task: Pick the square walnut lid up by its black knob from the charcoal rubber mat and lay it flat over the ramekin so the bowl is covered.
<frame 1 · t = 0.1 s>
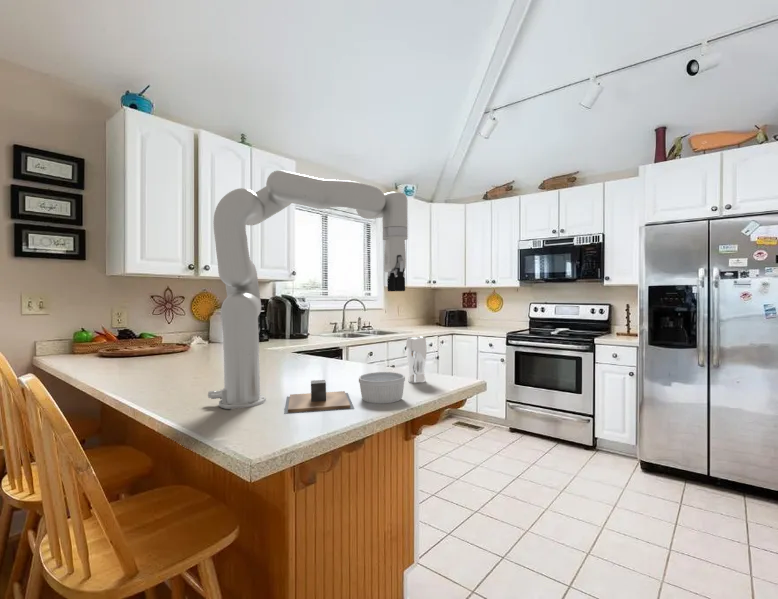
hand: (396, 291, 127), 31 cm above the table, fingers open, 9 cm apart
ramekin: (382, 400, 121), on the table
mat: (318, 404, 117), on the table
lid: (318, 402, 117), resting on mat
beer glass: (416, 382, 145), on the table
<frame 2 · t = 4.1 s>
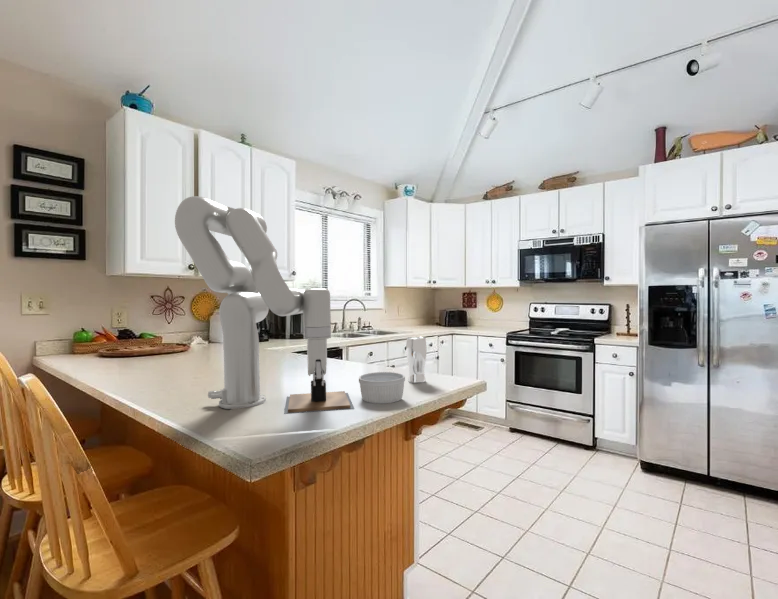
hand: (318, 397, 117), 2 cm above the table, fingers closed on lid, 4 cm apart
lid: (318, 402, 117), resting on mat, touching gripper
everything else where it was.
when the fingers open (9 cm above the table, at t = 10.0 s): lid drops 1 cm, resting on ramekin.
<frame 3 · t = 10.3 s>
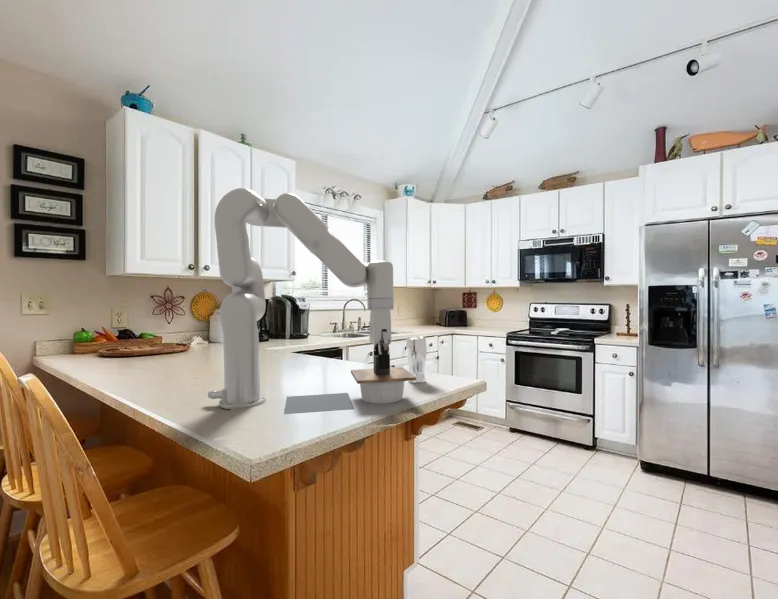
hand: (381, 365, 121), 10 cm above the table, fingers open, 7 cm apart
ramekin: (382, 400, 121), on the table, touching lid
lid: (381, 376, 121), point 7 cm above the table, touching ramekin
everything else where it was.
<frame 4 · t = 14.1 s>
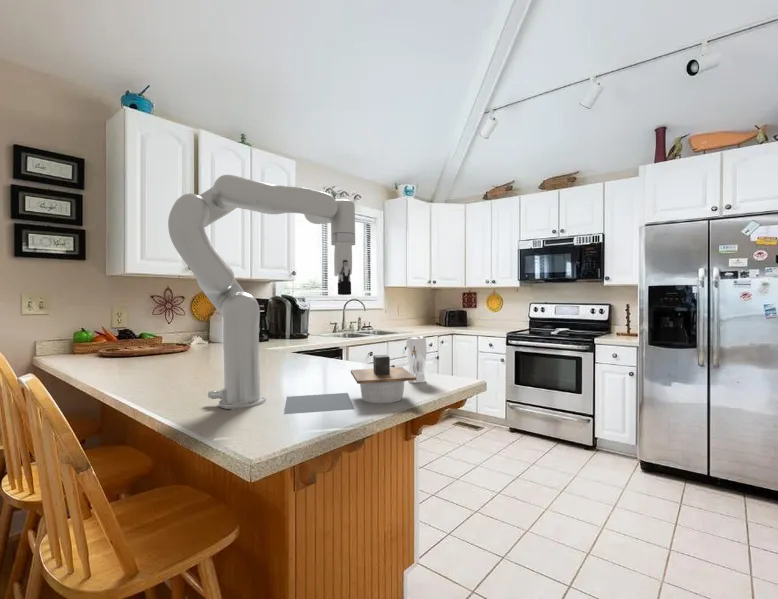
hand: (344, 294, 132), 30 cm above the table, fingers open, 9 cm apart
nothing on the table moved.
at the end: lid 0.1 cm off-centre on the ramekin, point 7.1 cm above the ramekin's base; lid tilted 0°; the gripper is holding nothing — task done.
